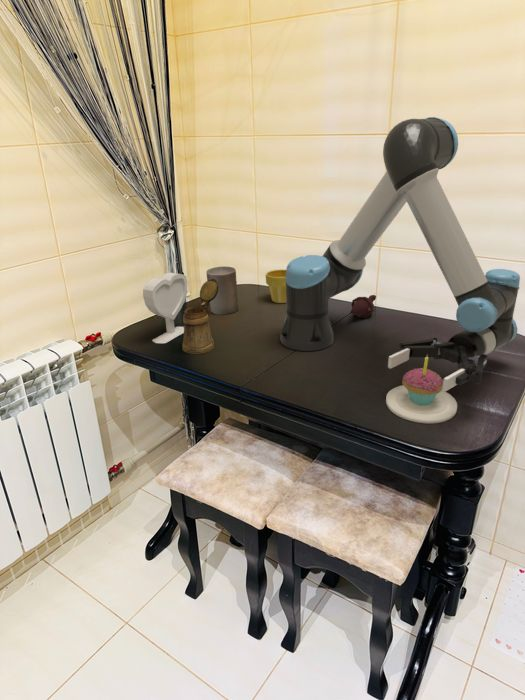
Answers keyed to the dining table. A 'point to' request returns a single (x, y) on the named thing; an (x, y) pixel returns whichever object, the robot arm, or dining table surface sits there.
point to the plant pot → (277, 285)
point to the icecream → (363, 306)
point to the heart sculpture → (166, 301)
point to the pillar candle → (224, 290)
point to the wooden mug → (200, 322)
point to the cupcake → (422, 384)
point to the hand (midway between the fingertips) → (415, 373)
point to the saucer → (421, 406)
